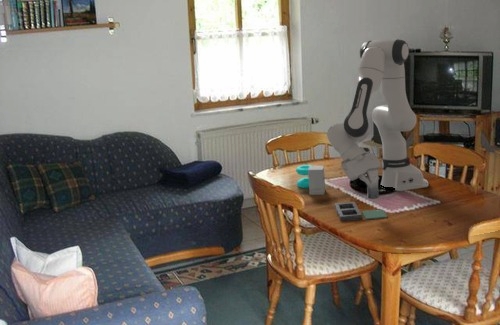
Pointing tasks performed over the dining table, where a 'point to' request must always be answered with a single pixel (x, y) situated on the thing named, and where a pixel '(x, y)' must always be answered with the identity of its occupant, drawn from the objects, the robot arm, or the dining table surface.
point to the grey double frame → (348, 211)
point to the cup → (372, 183)
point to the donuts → (303, 171)
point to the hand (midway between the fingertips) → (373, 181)
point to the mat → (374, 214)
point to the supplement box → (316, 180)
